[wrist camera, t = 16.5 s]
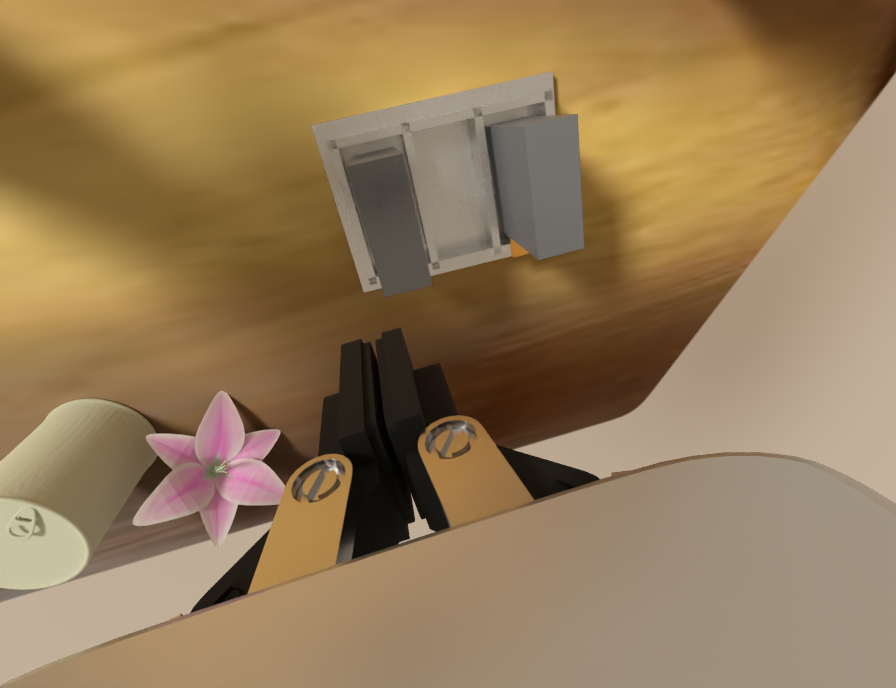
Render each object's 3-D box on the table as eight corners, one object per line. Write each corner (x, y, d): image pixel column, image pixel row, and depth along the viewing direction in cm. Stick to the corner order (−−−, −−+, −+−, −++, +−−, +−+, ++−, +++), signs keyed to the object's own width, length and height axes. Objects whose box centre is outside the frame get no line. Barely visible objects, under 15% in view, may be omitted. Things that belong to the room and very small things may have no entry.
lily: (304, 471, 46) (315, 501, 37) (191, 536, 42) (174, 588, 33) (250, 373, 44) (249, 381, 35) (126, 432, 40) (89, 458, 31)
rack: (312, 125, 31) (290, 125, 22) (549, 72, 32) (615, 53, 23) (363, 290, 37) (362, 338, 28) (560, 241, 38) (616, 275, 29)
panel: (485, 126, 32) (524, 127, 24) (526, 116, 32) (577, 113, 24) (500, 230, 36) (538, 260, 28) (537, 221, 36) (584, 248, 28)
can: (174, 421, 40) (104, 528, 29) (141, 488, 42) (66, 607, 32) (60, 382, 36) (-66, 487, 26) (31, 457, 39) (-93, 580, 28)
